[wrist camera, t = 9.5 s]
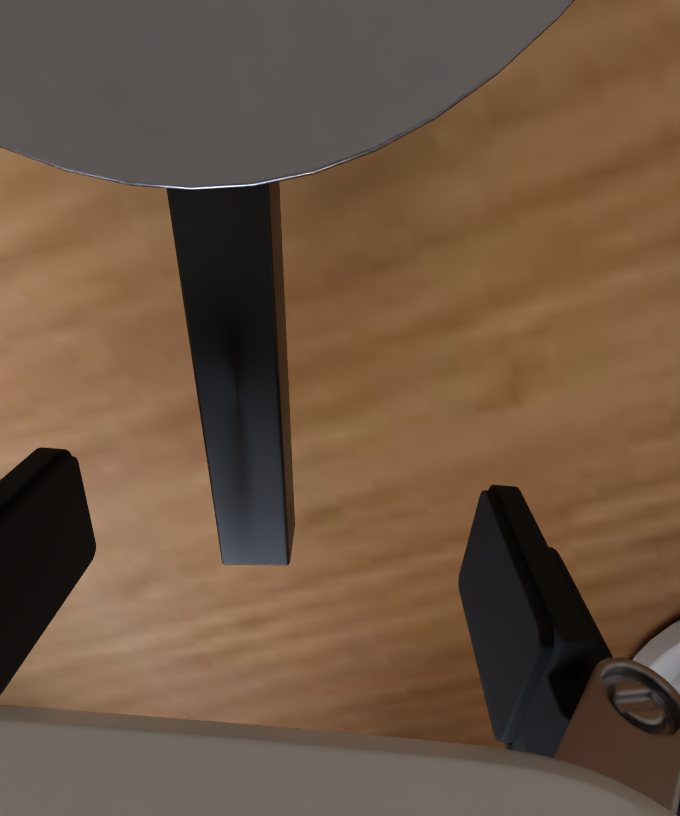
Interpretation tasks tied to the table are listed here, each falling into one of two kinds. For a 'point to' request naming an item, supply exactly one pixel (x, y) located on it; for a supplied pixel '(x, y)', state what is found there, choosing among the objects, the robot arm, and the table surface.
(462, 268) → the table surface
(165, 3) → the saucepan
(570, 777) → the robot arm
